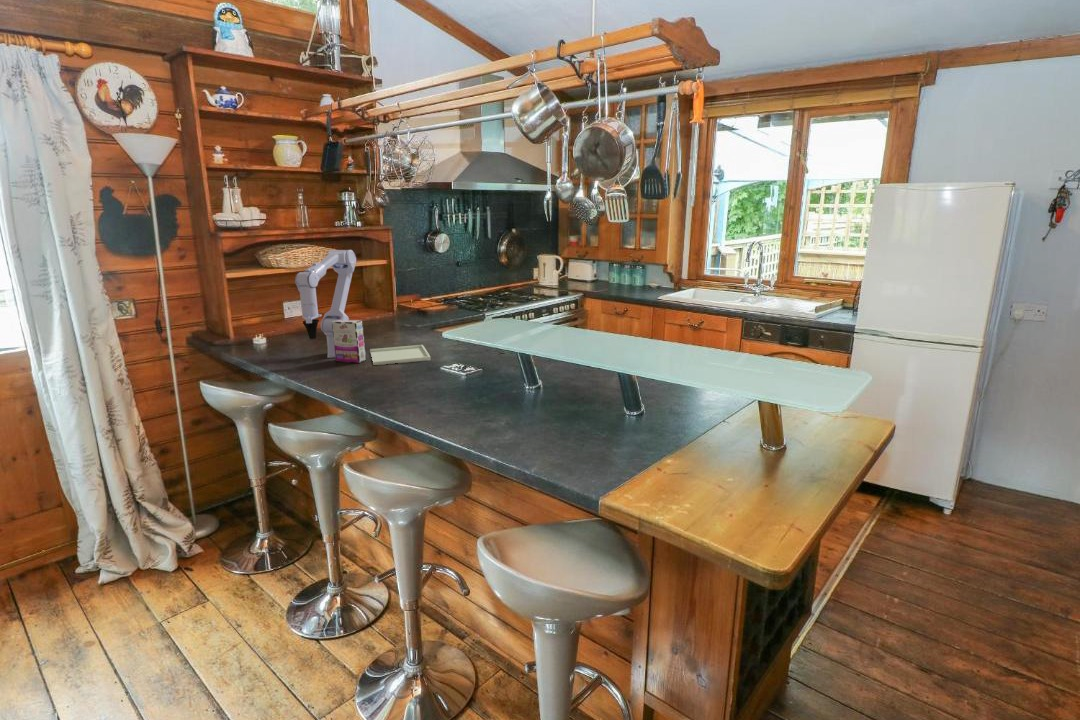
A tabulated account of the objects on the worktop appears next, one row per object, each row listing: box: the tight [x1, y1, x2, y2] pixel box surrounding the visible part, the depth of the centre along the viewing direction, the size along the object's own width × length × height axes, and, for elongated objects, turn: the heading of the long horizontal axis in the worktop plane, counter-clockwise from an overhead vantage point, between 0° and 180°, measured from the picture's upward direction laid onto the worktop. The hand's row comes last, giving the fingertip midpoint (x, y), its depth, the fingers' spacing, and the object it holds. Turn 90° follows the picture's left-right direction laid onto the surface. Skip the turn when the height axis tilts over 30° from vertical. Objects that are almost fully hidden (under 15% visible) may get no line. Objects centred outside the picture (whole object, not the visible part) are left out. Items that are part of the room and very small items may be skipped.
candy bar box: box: [332, 319, 367, 364], centre depth 233 cm, size 11×5×16 cm, turn 73°
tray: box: [369, 344, 432, 366], centre depth 241 cm, size 22×22×2 cm
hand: (312, 338), depth 228 cm, fingers closed
